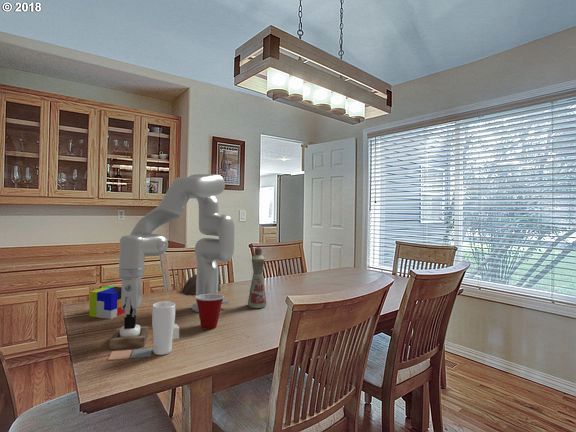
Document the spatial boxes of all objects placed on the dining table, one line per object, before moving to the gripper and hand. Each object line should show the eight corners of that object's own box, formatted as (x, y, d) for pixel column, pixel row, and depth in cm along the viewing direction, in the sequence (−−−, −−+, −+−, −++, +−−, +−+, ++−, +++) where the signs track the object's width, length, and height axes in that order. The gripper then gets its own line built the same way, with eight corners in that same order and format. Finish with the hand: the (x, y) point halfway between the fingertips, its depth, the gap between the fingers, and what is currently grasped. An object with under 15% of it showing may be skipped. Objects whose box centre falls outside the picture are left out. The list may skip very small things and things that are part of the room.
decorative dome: (225, 288, 182) (226, 270, 182) (211, 297, 163) (211, 277, 162) (193, 285, 186) (194, 268, 185) (175, 294, 166) (176, 275, 166)
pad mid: (152, 349, 103) (152, 348, 103) (150, 356, 97) (150, 355, 97) (133, 350, 101) (133, 349, 101) (130, 358, 96) (130, 357, 96)
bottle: (260, 302, 157) (262, 245, 156) (269, 307, 150) (272, 247, 149) (244, 304, 152) (246, 245, 152) (253, 310, 145) (255, 248, 144)
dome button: (141, 335, 111) (141, 323, 111) (138, 342, 105) (138, 330, 105) (122, 336, 109) (122, 324, 109) (118, 343, 104) (118, 331, 103)
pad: (131, 350, 101) (131, 349, 101) (128, 358, 96) (128, 357, 96) (112, 352, 99) (112, 351, 99) (107, 360, 94) (107, 359, 94)
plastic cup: (223, 321, 130) (224, 291, 129) (223, 331, 119) (224, 299, 119) (195, 322, 127) (196, 291, 127) (193, 332, 117) (194, 299, 117)
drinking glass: (155, 347, 104) (156, 301, 104) (176, 347, 104) (178, 301, 104) (147, 356, 97) (149, 307, 97) (170, 356, 98) (172, 307, 97)
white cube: (176, 334, 115) (176, 323, 115) (178, 338, 111) (179, 327, 111) (164, 336, 113) (164, 325, 112) (166, 341, 109) (167, 329, 109)
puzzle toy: (110, 319, 127) (111, 294, 127) (89, 316, 129) (89, 291, 129) (128, 311, 137) (128, 288, 137) (107, 308, 139) (108, 285, 139)
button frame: (148, 334, 113) (148, 326, 113) (144, 346, 104) (144, 337, 104) (116, 336, 111) (116, 328, 111) (109, 349, 101) (109, 340, 101)
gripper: (140, 277, 100) (138, 335, 101) (146, 268, 115) (145, 319, 115) (113, 277, 98) (111, 337, 99) (123, 268, 113) (122, 320, 113)
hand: (129, 327), depth 107 cm, fingers closed
